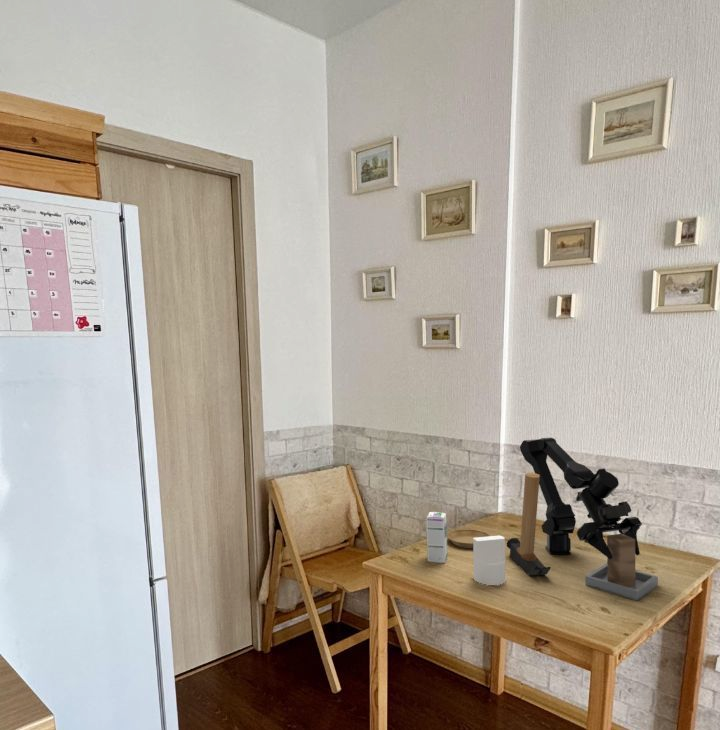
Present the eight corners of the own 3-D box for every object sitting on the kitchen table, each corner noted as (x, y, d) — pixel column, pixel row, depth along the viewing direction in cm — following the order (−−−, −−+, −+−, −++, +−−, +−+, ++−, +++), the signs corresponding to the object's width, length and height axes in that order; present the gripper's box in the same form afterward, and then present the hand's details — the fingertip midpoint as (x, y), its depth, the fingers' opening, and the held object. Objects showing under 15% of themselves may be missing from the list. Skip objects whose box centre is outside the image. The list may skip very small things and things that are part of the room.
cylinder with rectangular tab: (481, 587, 152) (480, 544, 152) (468, 574, 161) (468, 534, 161) (511, 584, 154) (510, 542, 154) (497, 571, 163) (496, 532, 163)
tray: (637, 601, 142) (637, 591, 142) (585, 585, 153) (585, 576, 153) (657, 585, 152) (657, 576, 151) (607, 571, 162) (607, 562, 162)
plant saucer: (450, 551, 181) (450, 543, 181) (444, 536, 196) (444, 529, 196) (495, 550, 181) (495, 542, 181) (485, 536, 196) (485, 528, 196)
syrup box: (445, 563, 170) (444, 517, 170) (426, 561, 172) (426, 516, 171) (447, 556, 176) (447, 512, 175) (429, 555, 177) (428, 511, 177)
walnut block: (607, 581, 154) (607, 535, 154) (622, 578, 155) (621, 533, 155) (620, 588, 149) (620, 541, 149) (635, 585, 150) (635, 539, 150)
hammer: (549, 585, 158) (557, 489, 152) (532, 586, 157) (540, 490, 151) (520, 549, 177) (526, 462, 171) (505, 550, 177) (511, 463, 171)
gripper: (583, 494, 153) (612, 547, 142) (636, 489, 158) (668, 539, 148) (565, 515, 160) (591, 565, 150) (616, 508, 166) (645, 557, 155)
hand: (625, 556), depth 151 cm, fingers open, 9 cm apart
